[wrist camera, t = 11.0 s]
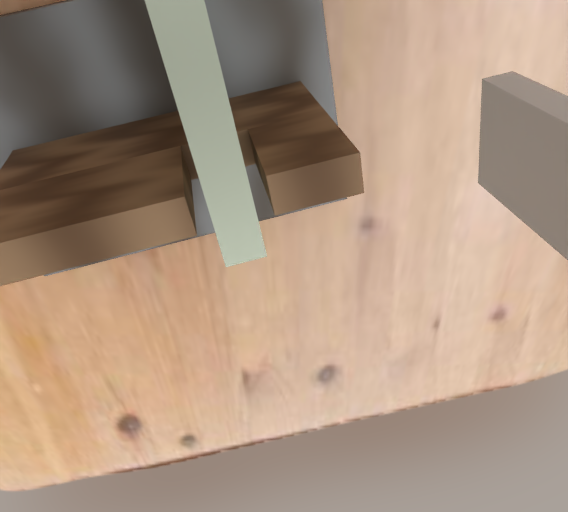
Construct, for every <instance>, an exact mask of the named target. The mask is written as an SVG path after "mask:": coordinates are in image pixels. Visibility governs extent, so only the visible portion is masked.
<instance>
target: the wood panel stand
mask: <svg viewBox="0 0 568 512" xmlns="http://www.w3.org/2000/svg"><path fill="white" fill-rule="evenodd" d="M204 1H205V5H206V9H207V13H208V17H209V21H210V26H211V30H212V34H213V38H214V42H215V46H216V50H217V54H218V58H219V62H220V66H221V70H222V74H223V78H224V83H225V87H226V91H227V95H228V99H229V103H230V107H231V111H232V115H233V119H234V123H235V127H236V131H237V136H238V140H239V144H240V148H241V152H242V156H243V160H244V164H245V168H246V172H247V176H248V180H249V184H250V188H251V193H252V197H253V201H254V205H255V209H256V213H257V217H258V221H262V220H266V219H270V218H274V217H278V216H281V215H285V214H289V213H293V212H297V211H301V210H305V209H309V208H313V207H316V206H320V205H324V204H328V203H332V202H336V201H340V200H344V199H347V197H350V196H354V195H357V194H361V193H364V187H363V177H362V168H361V158H360V152H359V151H358V150H357V148H356V147H355V146H354V145H353V144H352V142H351V141H350V140H349V139H348V138H347V136H346V135H345V134H344V133H343V132H342V130H341V129H340V128H339V127H338V123H337V115H336V107H335V99H334V91H333V83H332V75H331V67H330V59H329V51H328V43H327V35H326V27H325V19H324V11H323V3H322V0H204ZM211 233H215V230H214V226H213V223H212V220H211V217H210V213H209V210H208V207H207V203H206V200H205V197H204V194H203V190H202V187H201V184H200V180H199V177H198V174H197V171H196V167H195V164H194V161H193V157H192V154H191V151H190V148H189V144H188V141H187V138H186V135H185V131H184V128H183V125H182V121H181V118H180V115H179V112H178V108H177V105H176V102H175V98H174V95H173V92H172V89H171V85H170V82H169V79H168V76H167V72H166V69H165V66H164V62H163V59H162V56H161V53H160V49H159V46H158V43H157V39H156V36H155V33H154V30H153V26H152V23H151V20H150V16H149V13H148V10H147V7H146V3H145V0H66V1H61V2H57V3H53V4H48V5H44V6H39V7H35V8H31V9H26V10H22V11H17V12H13V13H8V14H4V15H0V286H3V285H7V284H10V283H14V282H18V281H22V280H26V279H30V278H34V277H38V276H42V275H44V276H48V275H52V274H55V273H59V272H63V271H67V270H71V269H75V268H79V267H83V266H87V265H91V264H94V263H98V262H102V261H106V260H110V259H114V258H118V257H122V256H126V255H129V254H133V253H137V252H141V251H145V250H149V249H153V248H157V247H161V246H165V245H168V244H172V243H176V242H180V241H184V240H188V239H192V238H196V237H200V236H204V235H207V234H211Z"/></svg>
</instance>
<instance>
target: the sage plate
mask: <svg viewBox="0 0 568 512" xmlns="http://www.w3.org/2000/svg"><path fill="white" fill-rule="evenodd" d="M145 3H146V7H147V10H148V13H149V16H150V20H151V23H152V26H153V30H154V33H155V36H156V39H157V43H158V46H159V49H160V53H161V56H162V59H163V62H164V66H165V69H166V72H167V76H168V79H169V82H170V85H171V89H172V92H173V95H174V98H175V102H176V105H177V108H178V112H179V115H180V118H181V121H182V125H183V128H184V131H185V135H186V138H187V141H188V144H189V148H190V151H191V154H192V157H193V161H194V164H195V167H196V171H197V174H198V177H199V180H200V184H201V187H202V190H203V194H204V197H205V200H206V203H207V207H208V210H209V213H210V217H211V220H212V223H213V226H214V230H215V233H216V236H217V239H218V243H219V246H220V249H221V253H222V256H223V259H224V262H225V266H226V267H229V266H233V265H237V264H240V263H244V262H248V261H252V260H256V259H259V258H263V257H267V254H266V250H265V246H264V241H263V237H262V233H261V229H260V225H259V221H258V217H257V213H256V209H255V205H254V201H253V197H252V193H251V188H250V184H249V180H248V176H247V172H246V168H245V164H244V160H243V156H242V152H241V148H240V144H239V140H238V136H237V131H236V127H235V123H234V119H233V115H232V111H231V107H230V103H229V99H228V95H227V91H226V87H225V83H224V78H223V74H222V70H221V66H220V62H219V58H218V54H217V50H216V46H215V42H214V38H213V34H212V30H211V26H210V21H209V17H208V13H207V9H206V5H205V1H204V0H145Z"/></svg>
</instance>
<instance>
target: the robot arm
mask: <svg viewBox="0 0 568 512" xmlns="http://www.w3.org/2000/svg"><path fill="white" fill-rule="evenodd" d="M478 183H479V184H480V185H481V186H482V187H483V188H485V189H486V190H487V191H488V192H489V193H490V194H492V195H493V196H494V197H495V198H496V199H497V200H498V201H500V202H501V203H502V204H503V205H504V206H505V207H507V208H508V209H509V210H510V211H511V212H512V213H514V214H515V215H516V216H517V217H518V218H519V219H521V220H522V221H523V222H524V223H525V224H526V225H527V226H529V227H530V228H531V229H532V230H533V231H534V232H536V233H537V234H538V235H539V236H540V237H541V238H543V239H544V240H545V241H546V242H547V243H548V244H550V245H551V246H552V247H553V248H554V249H555V250H557V251H558V252H559V253H560V254H561V255H562V256H563V257H565V258H566V259H567V260H568V96H566V95H564V94H562V93H560V92H557V91H555V90H553V89H551V88H549V87H546V86H544V85H542V84H540V83H538V82H535V81H533V80H531V79H529V78H527V77H524V76H522V75H520V74H518V73H516V72H513V71H512V72H508V73H504V74H500V75H496V76H492V77H488V78H484V79H482V96H481V122H480V147H479V173H478Z"/></svg>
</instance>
